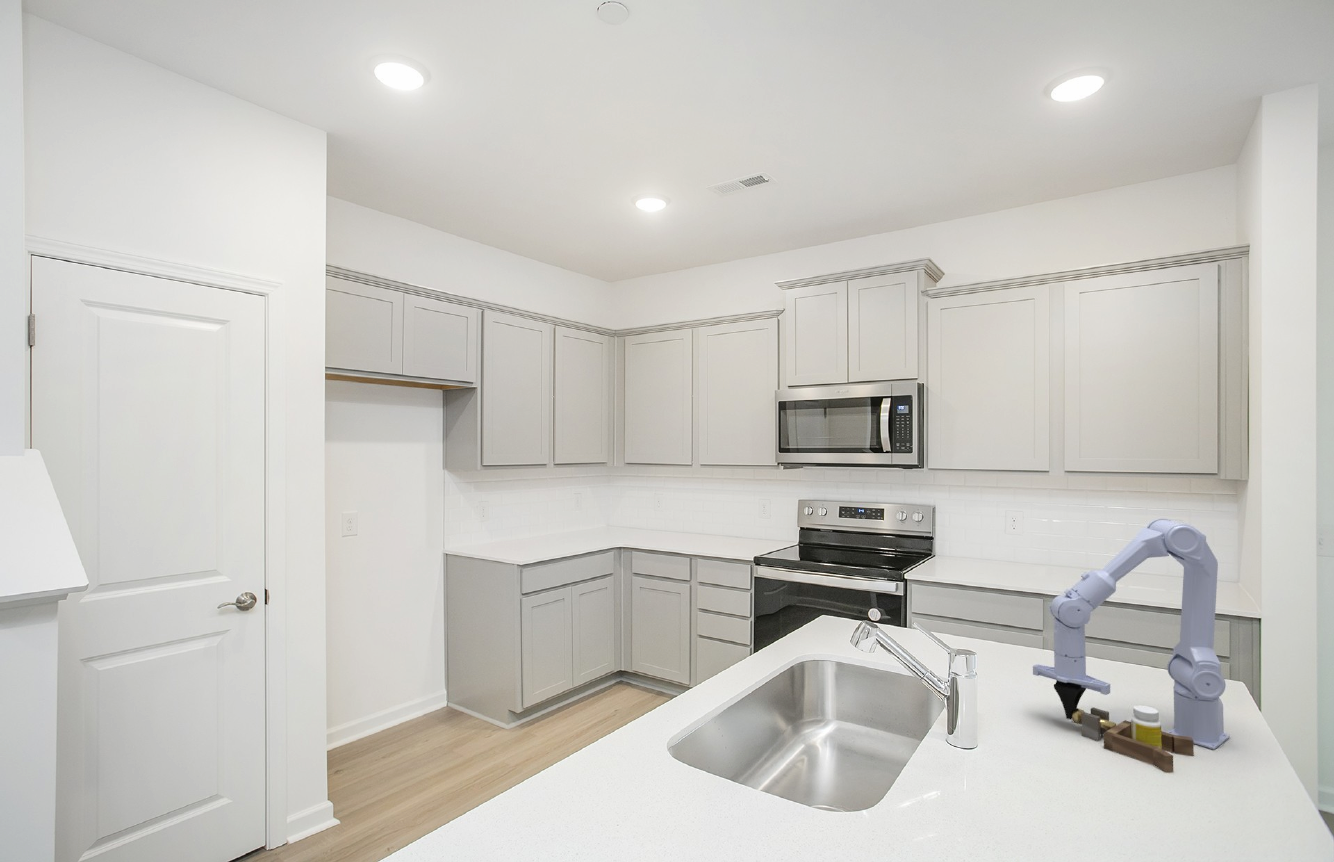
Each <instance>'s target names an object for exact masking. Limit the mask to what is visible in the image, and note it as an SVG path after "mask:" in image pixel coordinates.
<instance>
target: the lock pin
mask: <svg viewBox="0 0 1334 862" xmlns="http://www.w3.org/2000/svg"><path fill="white" fill-rule="evenodd" d="M1083 712H1085V710H1084V709H1082V708H1078V707H1077V708H1075V709H1074V711H1073V715H1072V719H1071V720H1072V721H1073V723H1074V724H1078V725H1081V726H1082V713H1083ZM1100 723H1101V728H1103V729H1106V730H1110V729H1111V728H1113V727H1115V726H1116V725H1117V724H1116V722H1114V721H1111V720H1109V721H1107V720H1104V719H1101V718H1100Z"/></svg>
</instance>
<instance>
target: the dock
mask: <svg viewBox="0 0 1334 862" xmlns="http://www.w3.org/2000/svg"><path fill="white" fill-rule="evenodd" d="M1100 718H1101V719H1104V720H1107V721H1110V712H1109V711H1106V710H1103V709H1100V708H1098V707H1097V708H1096V707H1091V708H1090V713H1089V712H1086V711H1084V712H1083V713H1082V725H1081V736H1082V737H1084V738H1087V739H1090V740H1093V741H1097V742H1099V741H1100V740H1101V739H1102V738H1101V737H1102V736H1103V749H1105V750H1108V751H1111V752H1114V753H1116V754H1120V755H1123V756H1125V757H1128V758H1132V759H1134V760H1137V761H1140V762H1143V763H1145V764H1146V763H1147V764H1149V765H1151V766H1152V765H1153V766H1154V767H1156V768H1157V769H1159V770H1161V771H1162V772H1164V773H1174V755H1173V754H1171V753H1174V754H1177V755H1183V756H1190V757H1195V756H1194V755H1195V754H1194V753H1195V752H1194V750H1195V749H1194V745H1195V744H1194V743H1193V739H1192V738H1191V737H1186V736H1179V735H1173V734H1169V733H1167V732H1165V731H1162V730H1161V736H1162V749H1161V748H1157V747H1156V746H1153V745H1149V744H1146V743H1143V742H1140V741H1137V740H1134V739H1132V730H1131V721H1129V720H1126V719H1125V720H1123V721H1121V722H1120V723H1117V724H1116V726H1115V727H1113V728H1111V729H1110V730H1106V729H1103V728H1101V723H1100ZM1169 752H1170V753H1169Z"/></svg>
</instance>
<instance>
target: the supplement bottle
mask: <svg viewBox="0 0 1334 862" xmlns="http://www.w3.org/2000/svg"><path fill="white" fill-rule="evenodd" d="M1132 714H1133V715H1132V716H1131V718H1130V719H1131V721H1130V722H1131V730H1132V739H1134V740H1137V741H1140V742H1143V743H1146V744H1149V745H1153V746H1156V747H1157V748H1161V749H1162V736H1161V731H1162V722H1161V721H1160V720H1159V718H1160V714H1159V710H1158V709H1156V708H1154V707H1151V706H1147V705H1141V704H1140V705H1134V706H1133V712H1132Z"/></svg>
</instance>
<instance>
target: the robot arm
mask: <svg viewBox="0 0 1334 862" xmlns="http://www.w3.org/2000/svg"><path fill="white" fill-rule="evenodd" d="M1169 556H1171V557H1172V558H1173V559H1175V561H1177V562H1178V563H1179V564H1180V565H1181V566H1183V576H1182V577H1183V579H1182V593H1181V595H1182V597H1181V613H1180V615H1181V616H1180V634H1179V642H1178V643H1177V644H1176V645H1175V646H1174V647H1173V653H1172V656H1171V658H1170V659H1169V660H1168V663H1167V666H1166V667H1167V668H1166V669H1167V673H1168V674H1169V676H1170V678H1171V679H1172V680H1173V683H1174V685H1173V726H1174V727H1173V728H1171V729H1170V730H1168V731H1167V732H1166V733H1169V734H1173V735H1179V736H1186V737H1191V738H1192V739H1193V743H1194V745H1198V746H1200V747H1205V748H1207V749H1211V750H1215V749H1217V748H1218V747H1219V746H1220V745H1222V744H1223V743H1224V742H1226V741H1227V740H1228V739H1230V737H1231V736H1230V734H1228V733H1225V731H1224V729H1225V728H1224V727H1225V725H1224V704H1223V702H1222V699H1221V698H1220V697H1221V696H1222V695H1223V694H1224V693H1225V691H1226V680H1225V678H1224V675H1223V674H1222V670H1221V669H1222V664H1221V662H1220V660H1219V658H1218V656H1217V654H1216V652H1215V650H1214V643H1215V642H1214V641H1215V625H1216V623H1215V622H1216V607H1217V605H1216V604H1217V588H1218V568H1219V567H1218V566H1219V564H1218V559H1217V558H1216V556H1215V554H1214V552H1213V550H1211V547H1210V545H1209V544H1208V542H1207V536H1206V535H1205V534H1204V533H1202V532H1201V531H1200V530H1199V529H1197V528H1196V527H1195V526H1193V525H1190V524H1187V523H1181V522H1176V521H1172V520H1171V519H1167V518H1157V519H1153V520H1152V521H1151V522H1149V524H1148V525H1147V526H1146V527H1143V528H1141V529H1140V530H1139V531H1138V532H1137V534H1136V535H1135V537H1134V538H1133V539H1132V540H1131V541H1130V542H1129V543H1128V544H1127V545H1126V546H1125V547H1124V548H1122V550H1120V552H1119V553H1118V554H1116V556H1115V557H1113V559H1112V560H1110V561H1109V562H1108V564H1107V565H1105V566H1104V567H1103V568H1102V569H1100V570H1095V569H1094V570H1090V571H1089V572H1083V573H1082V574H1081V575H1080V577H1081V579H1080V580H1079V581H1078V582H1077V583H1075V584H1074V585H1072V587H1071V588H1070V589H1068V588H1066V589H1064V591H1063V592H1064V594H1062V595H1061V594H1059V595H1057V596H1056V597H1054V598H1053V599H1052V600H1051V604H1050V605H1049V606H1048V610H1049V612H1050V614H1051V615H1052V616H1053V618H1054V619H1053V626H1054V628H1053V655H1054V656H1053V660H1054V661H1053V663H1054V665H1053V666H1054V667H1053V666H1047V665H1042V664H1038V663H1036V664H1034V665H1032V675H1034V676H1039V677H1040V676H1041V677H1044V678H1048V679H1052V680H1054V681H1055V683H1054V684H1053V689H1054V690H1055V692H1056V693H1057V695H1058V697H1059V699H1060V701H1061V704H1062V706H1063V709H1064V713H1065V717H1066V719H1067V720H1073V719H1072V715H1073V711H1074V709H1075V708H1078V706H1079V703H1080V700H1081V698H1082V697H1083V695H1084V693H1085V692H1086V690H1091V691H1094V692H1098V693H1100V694H1102V695H1104V696H1108V695H1109V694H1111V683H1109V682H1106V681H1103V680H1100V679H1098V678H1095V677H1092V676H1090V675H1088V674H1087V670H1086V669H1087V668H1086V667H1087V664H1086V663H1087V661H1086V660H1087V659H1086V658H1087V656H1086V651H1087V650H1086V631H1085V630H1086V626H1085V625H1087V624H1088V623H1089V621H1090V620H1091V613H1092V612H1093V611H1095V610H1096V609H1097V608H1098V607H1099V606H1101V605H1102V604H1103V603H1104V602H1105V601H1106V600H1107V599H1109V598H1110V597H1111V596H1112V595H1113V594H1114V593H1116V591H1117V582H1119V581H1120V580H1121V579H1122V578H1124V577H1125V576H1127V574H1129V573H1130V572H1131V571H1133V570H1135V568H1137V567H1138V566H1140V565H1141V564H1142V563H1143V562H1145V561H1146V560H1147V559H1150V558H1162V557H1163V558H1164V557H1169Z"/></svg>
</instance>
